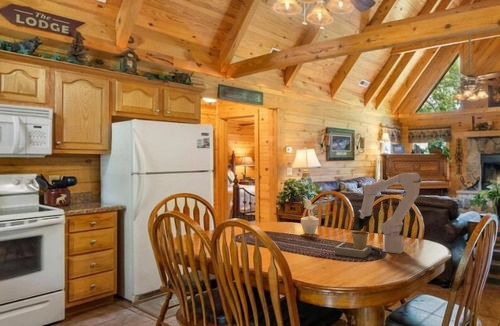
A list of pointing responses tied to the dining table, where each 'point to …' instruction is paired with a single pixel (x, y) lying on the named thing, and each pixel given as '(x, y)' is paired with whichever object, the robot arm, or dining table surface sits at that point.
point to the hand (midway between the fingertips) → (362, 227)
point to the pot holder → (352, 251)
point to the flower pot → (359, 239)
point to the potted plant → (309, 219)
